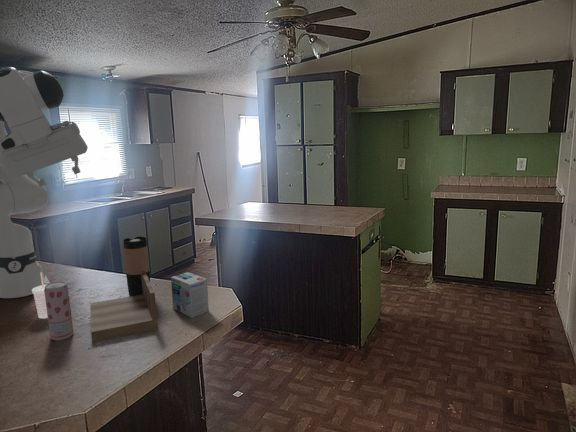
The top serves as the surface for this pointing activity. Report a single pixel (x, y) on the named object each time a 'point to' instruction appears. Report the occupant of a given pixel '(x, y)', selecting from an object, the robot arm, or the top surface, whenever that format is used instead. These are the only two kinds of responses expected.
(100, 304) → the walnut shelf stand
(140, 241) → the travel mug
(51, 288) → the beverage can
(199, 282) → the light bulb box
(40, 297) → the beverage cup
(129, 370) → the top surface
